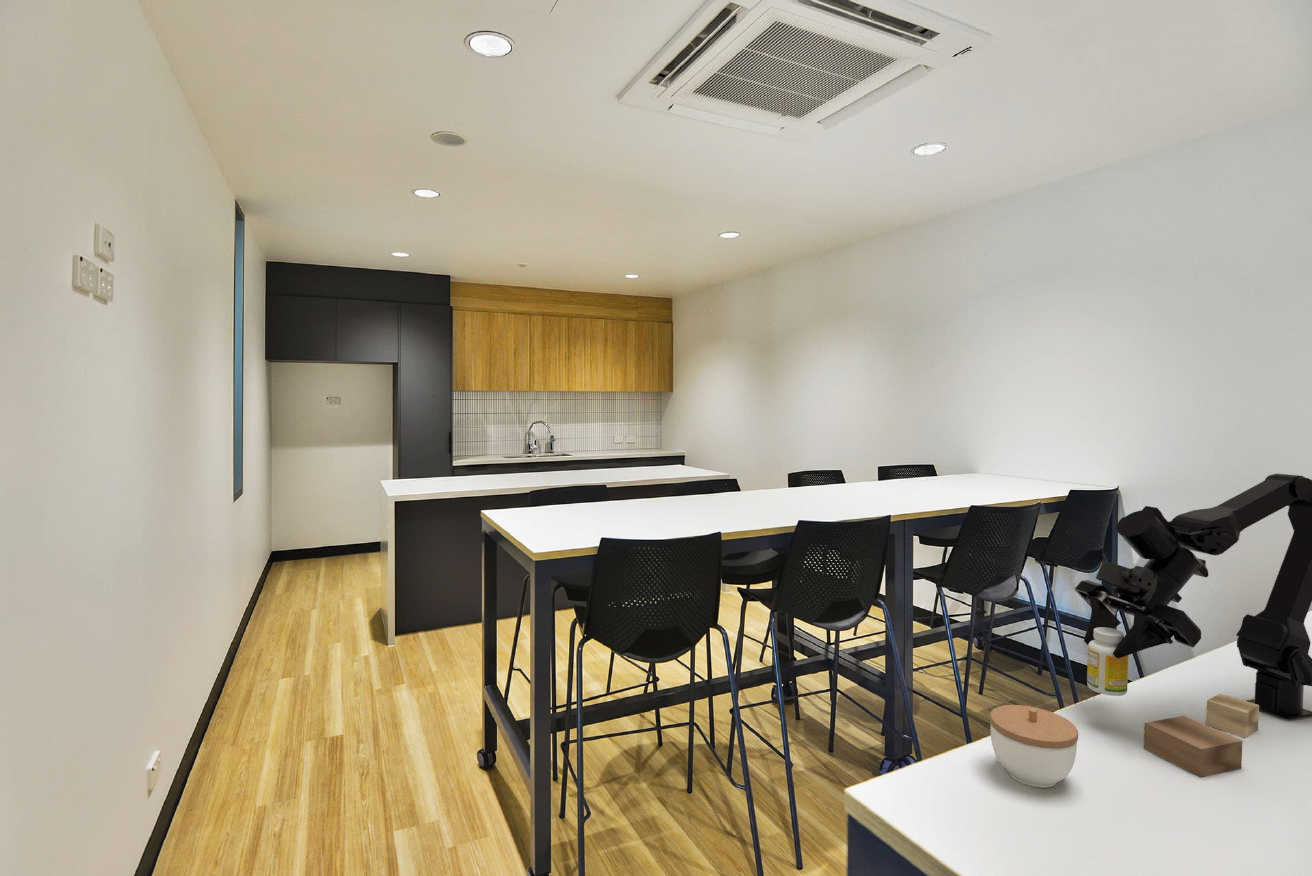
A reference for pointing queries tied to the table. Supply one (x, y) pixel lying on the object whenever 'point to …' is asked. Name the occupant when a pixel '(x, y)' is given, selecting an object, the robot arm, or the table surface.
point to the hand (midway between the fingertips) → (1100, 649)
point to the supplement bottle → (1106, 663)
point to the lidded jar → (1033, 744)
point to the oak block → (1232, 715)
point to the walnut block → (1193, 745)
